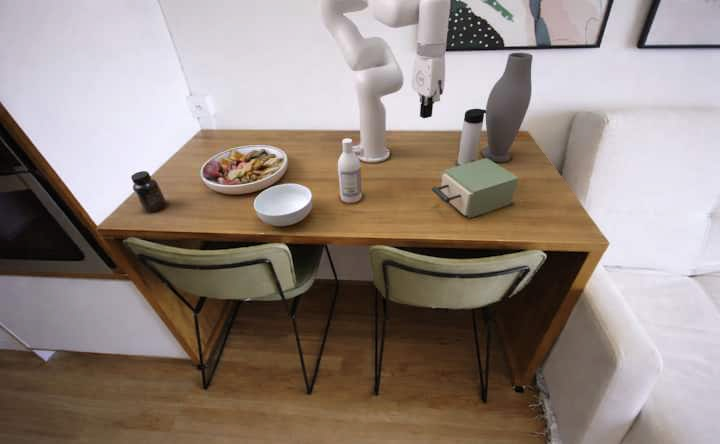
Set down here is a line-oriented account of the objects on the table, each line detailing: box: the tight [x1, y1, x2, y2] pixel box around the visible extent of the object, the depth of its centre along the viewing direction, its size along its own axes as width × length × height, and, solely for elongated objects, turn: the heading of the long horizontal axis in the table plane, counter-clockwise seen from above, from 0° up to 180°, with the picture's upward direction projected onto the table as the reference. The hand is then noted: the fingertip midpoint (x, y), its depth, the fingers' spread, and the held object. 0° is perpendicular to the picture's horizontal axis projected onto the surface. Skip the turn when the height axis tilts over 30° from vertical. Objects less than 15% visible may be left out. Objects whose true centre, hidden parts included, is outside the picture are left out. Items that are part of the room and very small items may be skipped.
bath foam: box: [337, 137, 363, 204], centre depth 105 cm, size 7×7×20 cm
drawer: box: [431, 172, 472, 216], centre depth 103 cm, size 20×13×7 cm, turn 114°
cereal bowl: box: [253, 183, 314, 227], centre depth 102 cm, size 17×17×7 cm
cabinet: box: [444, 157, 519, 219], centre depth 104 cm, size 16×14×9 cm
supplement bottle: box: [130, 170, 168, 213], centre depth 108 cm, size 7×7×12 cm
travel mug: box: [457, 108, 486, 166], centre depth 118 cm, size 6×7×20 cm
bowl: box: [200, 144, 289, 195], centre depth 123 cm, size 30×30×8 cm
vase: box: [481, 52, 534, 163], centre depth 118 cm, size 13×13×35 cm
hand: (425, 116), depth 102 cm, fingers closed
